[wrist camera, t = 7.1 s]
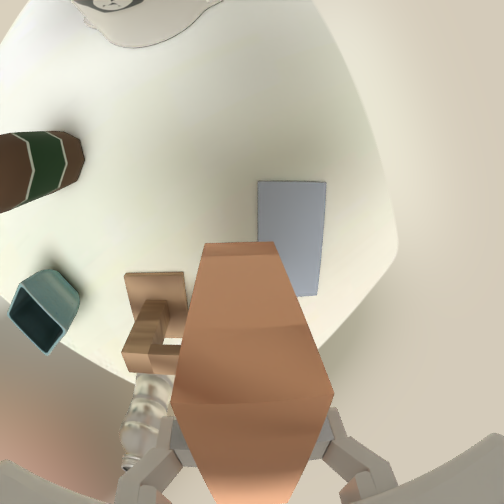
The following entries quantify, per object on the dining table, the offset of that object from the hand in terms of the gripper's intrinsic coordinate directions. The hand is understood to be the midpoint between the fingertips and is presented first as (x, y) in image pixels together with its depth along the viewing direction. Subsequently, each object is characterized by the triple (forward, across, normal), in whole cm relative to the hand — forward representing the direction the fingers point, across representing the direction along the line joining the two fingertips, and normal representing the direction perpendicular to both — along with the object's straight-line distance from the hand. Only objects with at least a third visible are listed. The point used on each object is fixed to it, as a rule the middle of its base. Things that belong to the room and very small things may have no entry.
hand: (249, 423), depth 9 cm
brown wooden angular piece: (+25, +6, +10) cm, 27 cm away
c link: (+9, 0, +2) cm, 9 cm away
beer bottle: (+25, +22, -11) cm, 35 cm away
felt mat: (+25, -7, +2) cm, 26 cm away
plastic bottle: (+25, +13, +22) cm, 36 cm away
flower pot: (+25, +27, +8) cm, 38 cm away
